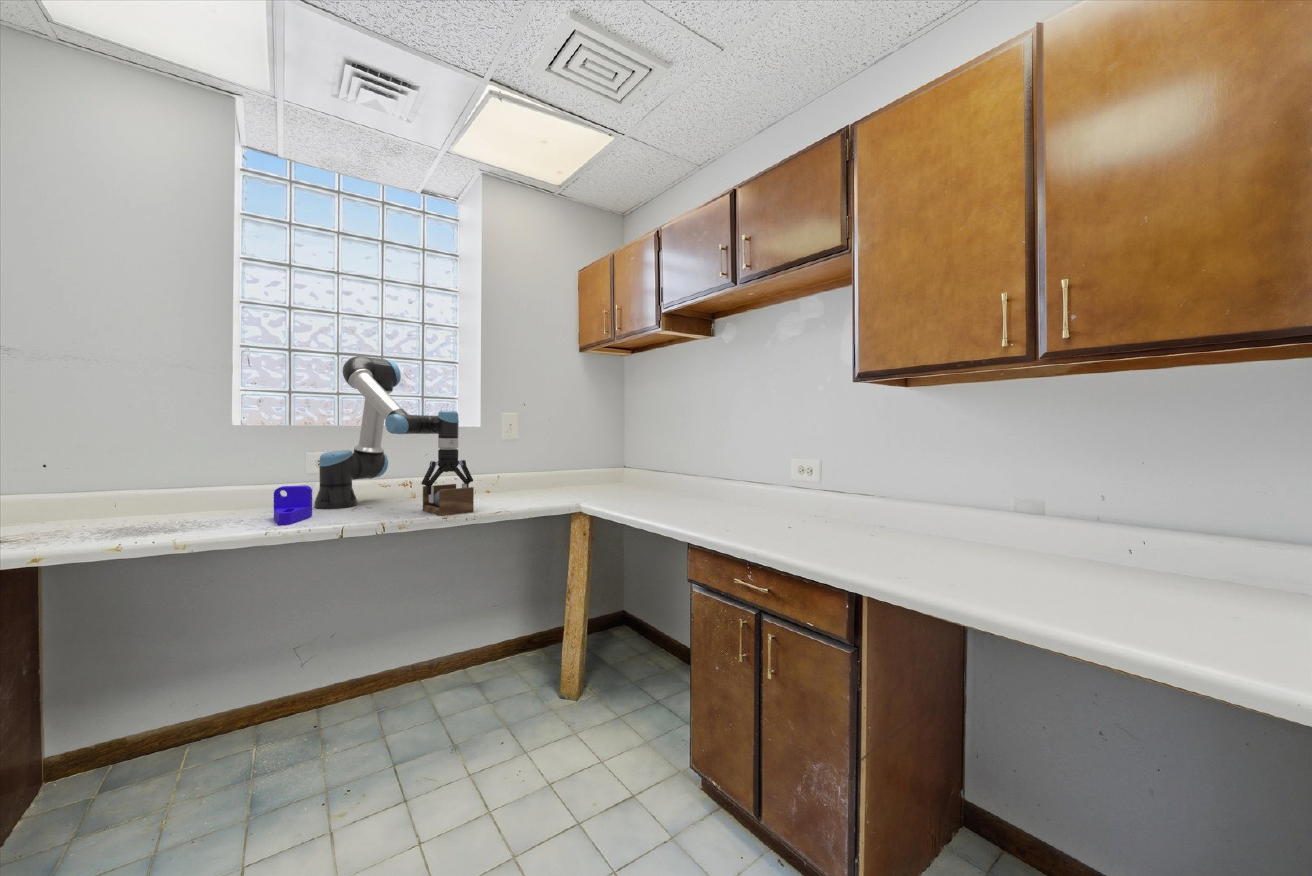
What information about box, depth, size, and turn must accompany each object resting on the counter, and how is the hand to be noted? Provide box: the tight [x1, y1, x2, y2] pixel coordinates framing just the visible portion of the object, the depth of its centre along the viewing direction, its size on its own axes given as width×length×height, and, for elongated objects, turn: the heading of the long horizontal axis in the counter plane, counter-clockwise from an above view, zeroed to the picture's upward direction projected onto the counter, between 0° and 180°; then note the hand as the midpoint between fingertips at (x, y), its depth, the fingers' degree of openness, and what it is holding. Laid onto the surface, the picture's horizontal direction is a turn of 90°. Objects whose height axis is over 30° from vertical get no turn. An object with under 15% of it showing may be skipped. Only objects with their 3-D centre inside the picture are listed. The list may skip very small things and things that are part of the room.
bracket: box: [273, 485, 313, 526], centre depth 177 cm, size 18×11×12 cm, turn 27°
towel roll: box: [434, 491, 439, 507], centre depth 200 cm, size 12×7×7 cm, turn 47°
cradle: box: [422, 483, 475, 517], centre depth 200 cm, size 16×13×10 cm
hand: (448, 501), depth 200 cm, fingers open, 13 cm apart
